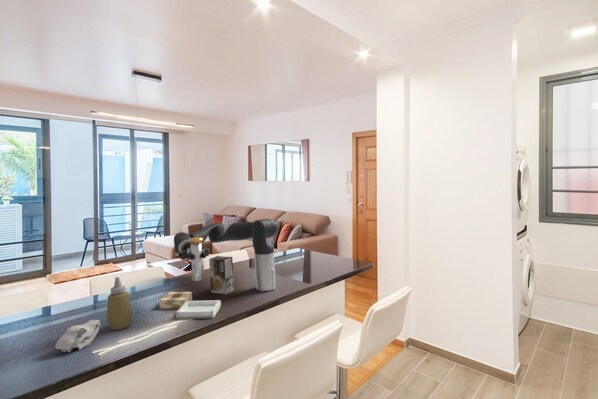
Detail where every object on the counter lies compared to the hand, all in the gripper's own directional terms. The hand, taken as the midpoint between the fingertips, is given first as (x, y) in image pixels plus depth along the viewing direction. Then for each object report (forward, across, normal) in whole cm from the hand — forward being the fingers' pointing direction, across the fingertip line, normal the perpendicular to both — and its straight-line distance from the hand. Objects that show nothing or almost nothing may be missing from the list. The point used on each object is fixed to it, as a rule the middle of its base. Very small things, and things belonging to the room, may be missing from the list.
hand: (198, 256), depth 127 cm
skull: (+5, +39, -23) cm, 45 cm away
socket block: (-18, +6, -23) cm, 29 cm away
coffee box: (-23, -15, -23) cm, 36 cm away
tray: (-2, 0, -23) cm, 23 cm away
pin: (-3, 0, -10) cm, 10 cm away
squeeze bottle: (-5, +27, -23) cm, 36 cm away
